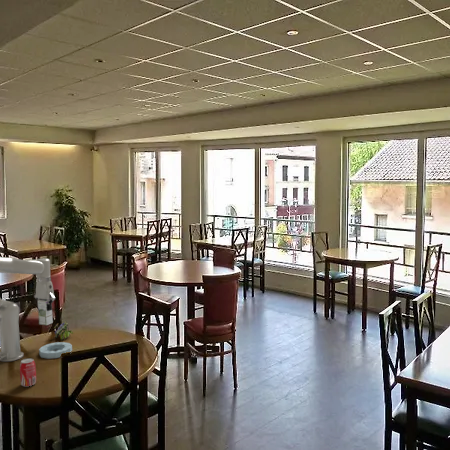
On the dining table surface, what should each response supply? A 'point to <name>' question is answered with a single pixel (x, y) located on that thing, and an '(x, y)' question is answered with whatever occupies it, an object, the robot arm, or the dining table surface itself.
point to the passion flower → (63, 328)
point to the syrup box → (44, 313)
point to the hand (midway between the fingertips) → (45, 309)
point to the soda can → (27, 372)
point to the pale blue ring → (47, 349)
